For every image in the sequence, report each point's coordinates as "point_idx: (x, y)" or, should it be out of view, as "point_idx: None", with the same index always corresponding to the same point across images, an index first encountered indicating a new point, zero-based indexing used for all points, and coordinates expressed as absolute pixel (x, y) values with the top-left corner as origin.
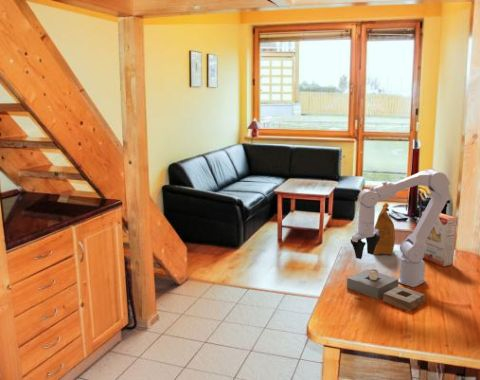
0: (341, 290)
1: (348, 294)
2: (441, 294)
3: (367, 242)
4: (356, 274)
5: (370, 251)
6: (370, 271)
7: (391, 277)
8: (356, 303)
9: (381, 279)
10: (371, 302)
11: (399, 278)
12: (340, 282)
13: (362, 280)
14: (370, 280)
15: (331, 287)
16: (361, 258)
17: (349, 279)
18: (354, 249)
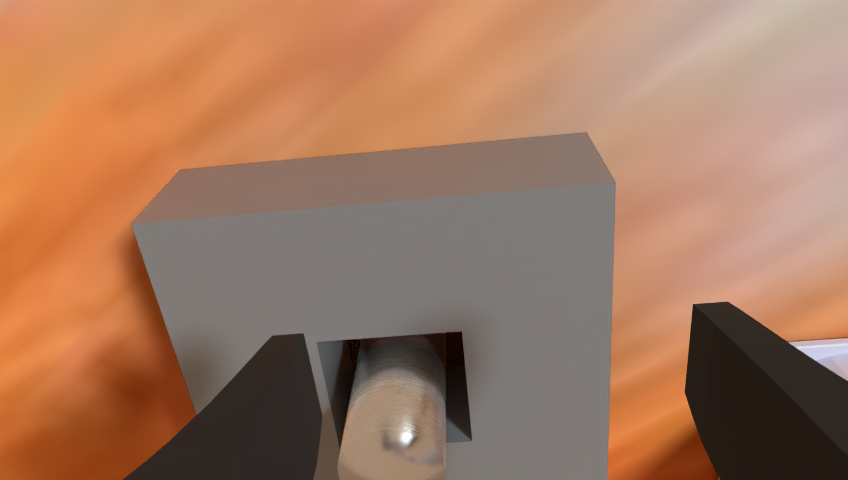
0: (85, 178)
1: (93, 280)
2: None
3: (834, 466)
4: (323, 217)
5: (706, 400)
6: (341, 461)
7: (586, 477)
8: (46, 423)
9: (450, 455)
10: None
11: (828, 349)
12: (224, 4)
13: None
14: (326, 412)
15: (23, 52)
16: (318, 424)
17: (145, 251)
18: (161, 462)
